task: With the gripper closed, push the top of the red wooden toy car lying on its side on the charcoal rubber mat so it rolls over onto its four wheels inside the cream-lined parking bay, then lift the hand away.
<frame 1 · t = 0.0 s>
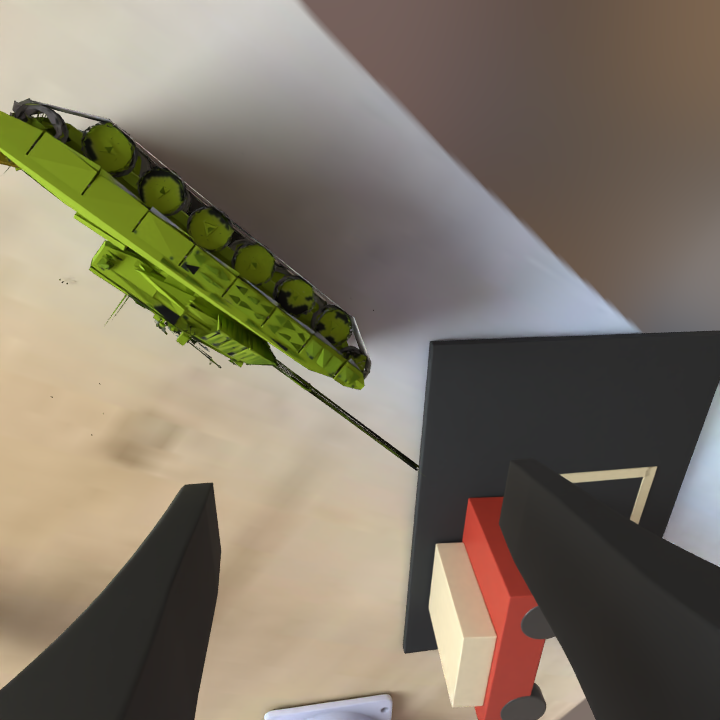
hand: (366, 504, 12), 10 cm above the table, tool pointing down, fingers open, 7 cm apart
toy car: (531, 607, 24), point 4 cm above the table, touching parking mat
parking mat: (547, 505, 27), on the table
toy tank: (254, 322, 20), on the table
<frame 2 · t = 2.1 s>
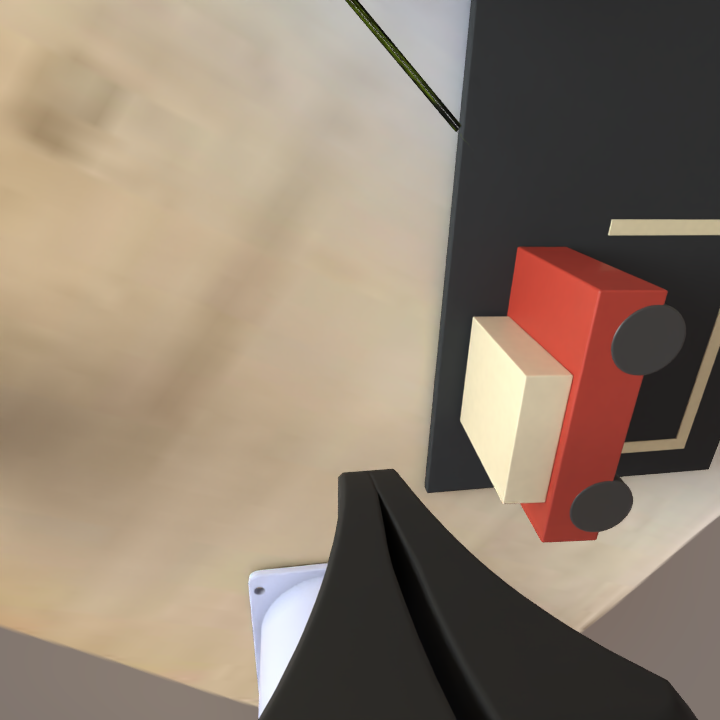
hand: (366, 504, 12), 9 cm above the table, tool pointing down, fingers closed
toy car: (604, 386, 18), point 4 cm above the table, touching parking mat
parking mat: (616, 279, 21), on the table
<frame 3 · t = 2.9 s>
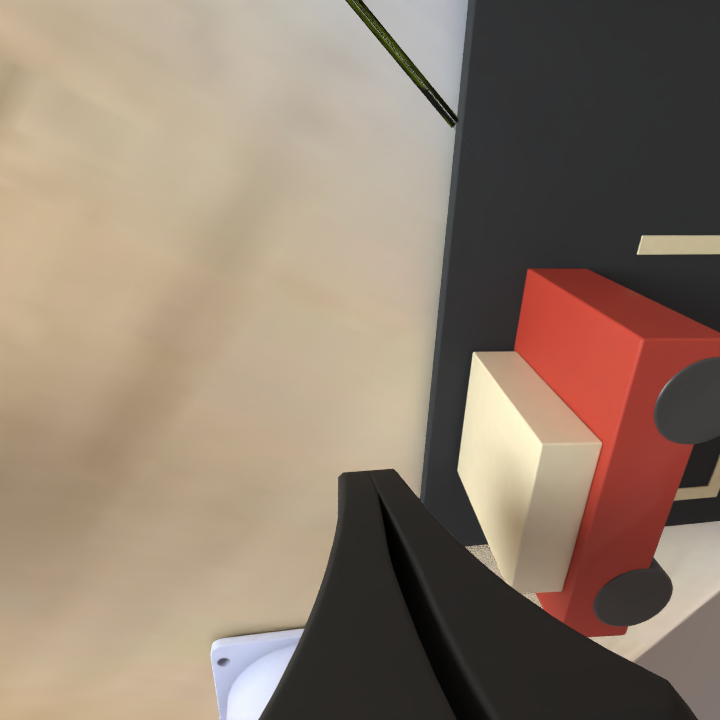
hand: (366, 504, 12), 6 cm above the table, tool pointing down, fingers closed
toy car: (634, 440, 15), point 4 cm above the table, touching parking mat
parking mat: (644, 305, 17), on the table
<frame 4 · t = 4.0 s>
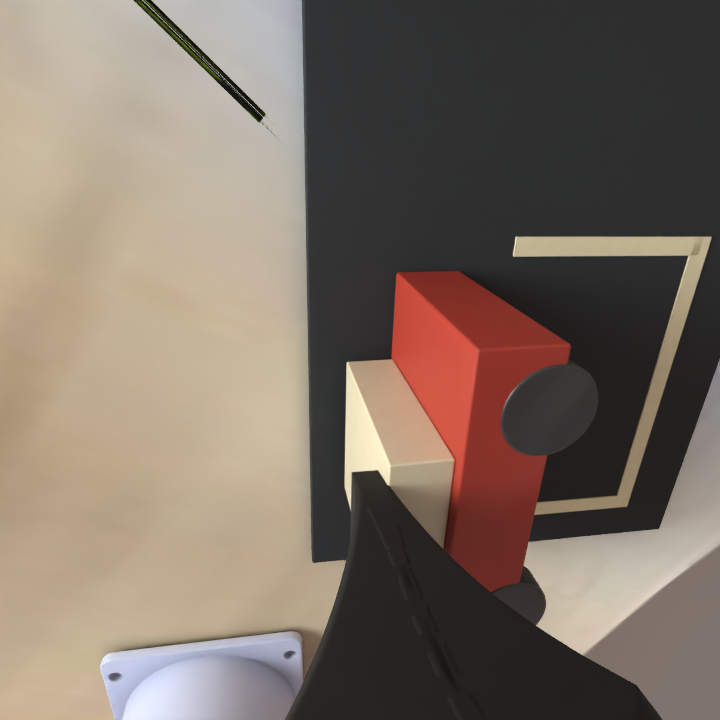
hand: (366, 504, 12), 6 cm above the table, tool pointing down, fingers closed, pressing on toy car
toy car: (509, 447, 14), point 4 cm above the table, touching gripper, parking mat
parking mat: (531, 309, 17), on the table
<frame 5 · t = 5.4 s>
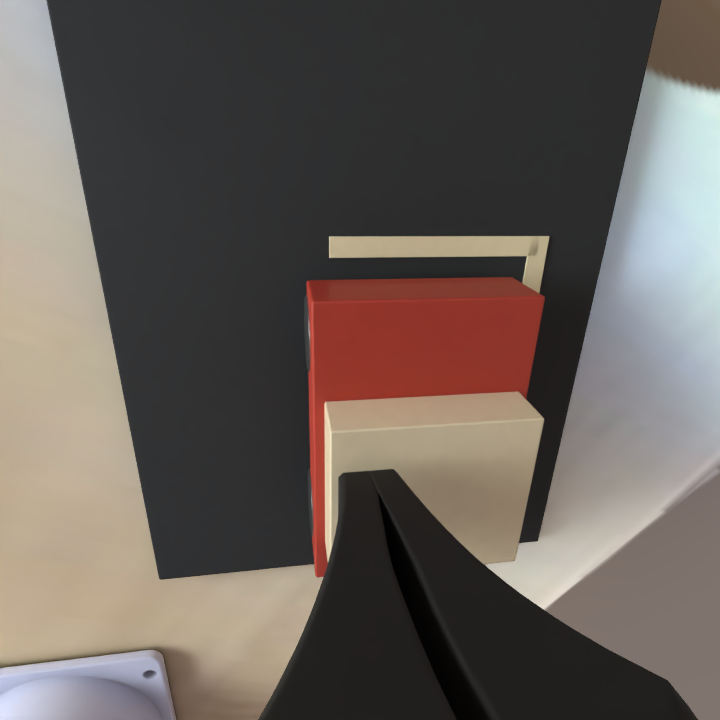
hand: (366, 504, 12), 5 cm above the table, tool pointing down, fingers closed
toy car: (396, 401, 17), resting on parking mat, tilted 90°
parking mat: (365, 313, 16), on the table
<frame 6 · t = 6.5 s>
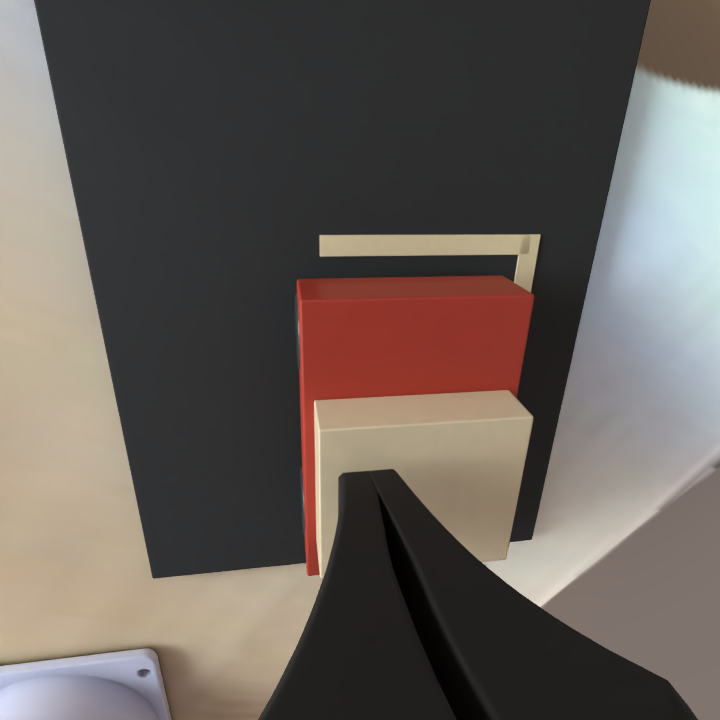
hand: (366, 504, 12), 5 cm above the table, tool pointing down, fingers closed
toy car: (389, 400, 17), resting on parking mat, tilted 90°
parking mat: (356, 312, 16), on the table
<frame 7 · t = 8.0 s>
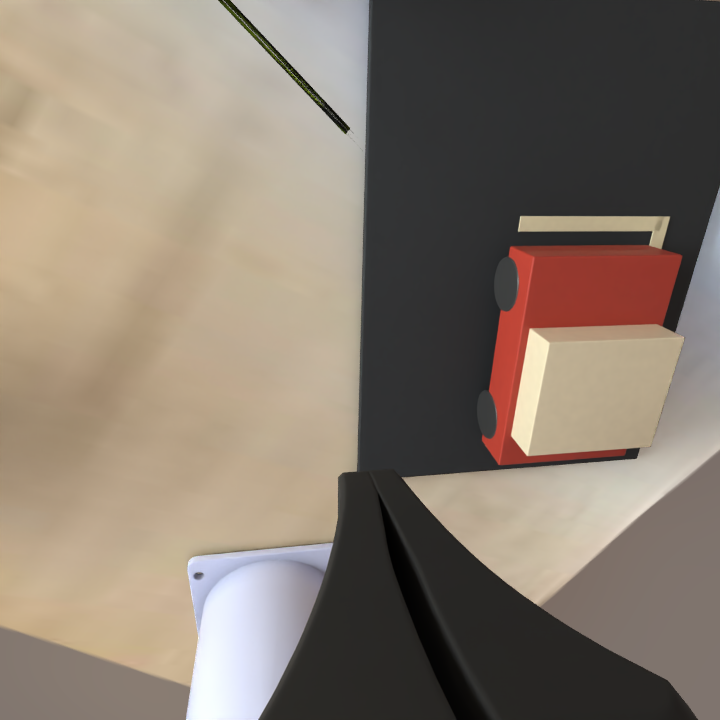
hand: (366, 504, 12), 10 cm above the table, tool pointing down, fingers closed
toy car: (548, 341, 22), resting on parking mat, tilted 90°
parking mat: (532, 273, 21), on the table
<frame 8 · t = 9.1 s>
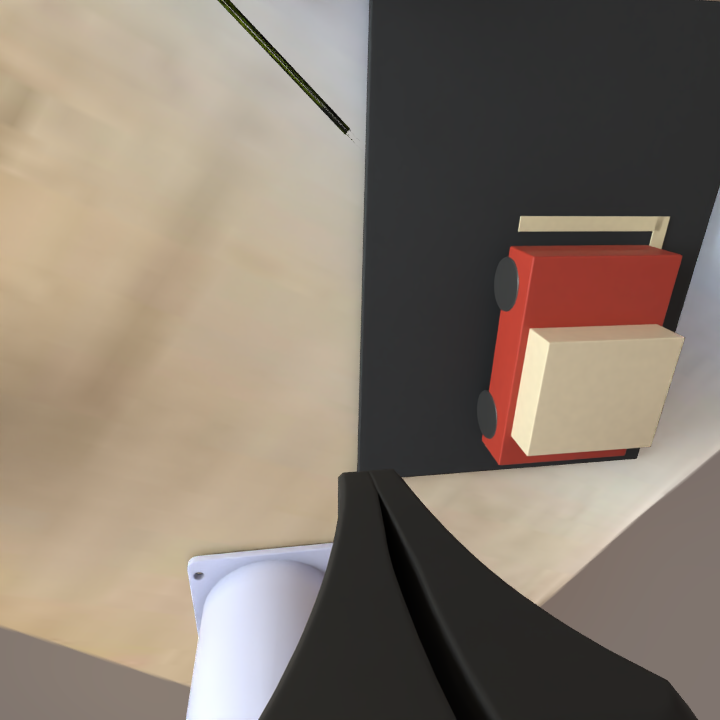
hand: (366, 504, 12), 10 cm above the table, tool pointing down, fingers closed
toy car: (548, 341, 22), resting on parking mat, tilted 90°
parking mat: (532, 273, 21), on the table
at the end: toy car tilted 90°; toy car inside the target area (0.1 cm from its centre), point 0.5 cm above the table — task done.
